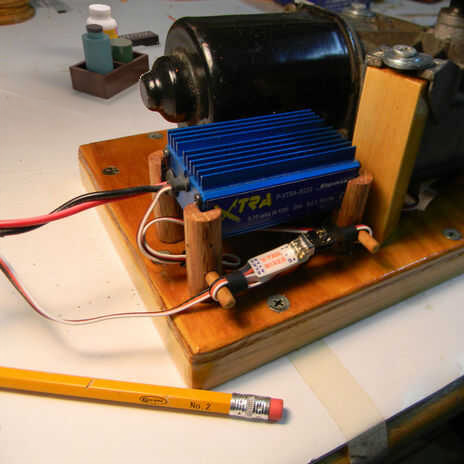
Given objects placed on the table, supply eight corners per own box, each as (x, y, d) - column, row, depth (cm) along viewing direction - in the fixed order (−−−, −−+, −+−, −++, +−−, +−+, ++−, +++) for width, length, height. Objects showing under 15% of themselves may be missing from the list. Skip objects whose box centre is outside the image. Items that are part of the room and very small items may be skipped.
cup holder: (73, 91, 104) (68, 66, 100) (119, 68, 116) (116, 45, 112) (107, 102, 102) (104, 77, 99) (150, 77, 115) (148, 54, 111)
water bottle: (84, 87, 104) (73, 26, 96) (100, 79, 108) (91, 20, 100) (105, 93, 103) (97, 32, 95) (120, 85, 107) (113, 26, 99)
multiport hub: (159, 43, 132) (159, 35, 131) (124, 50, 125) (123, 41, 124) (150, 38, 134) (149, 30, 133) (115, 44, 127) (114, 36, 126)
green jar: (107, 77, 110) (102, 42, 105) (120, 70, 114) (116, 36, 109) (126, 82, 109) (122, 47, 104) (139, 75, 113) (136, 41, 108)
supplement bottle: (124, 65, 118) (118, 11, 110) (96, 68, 114) (88, 12, 106) (116, 55, 122) (109, 2, 114) (89, 57, 118) (80, 3, 110)
